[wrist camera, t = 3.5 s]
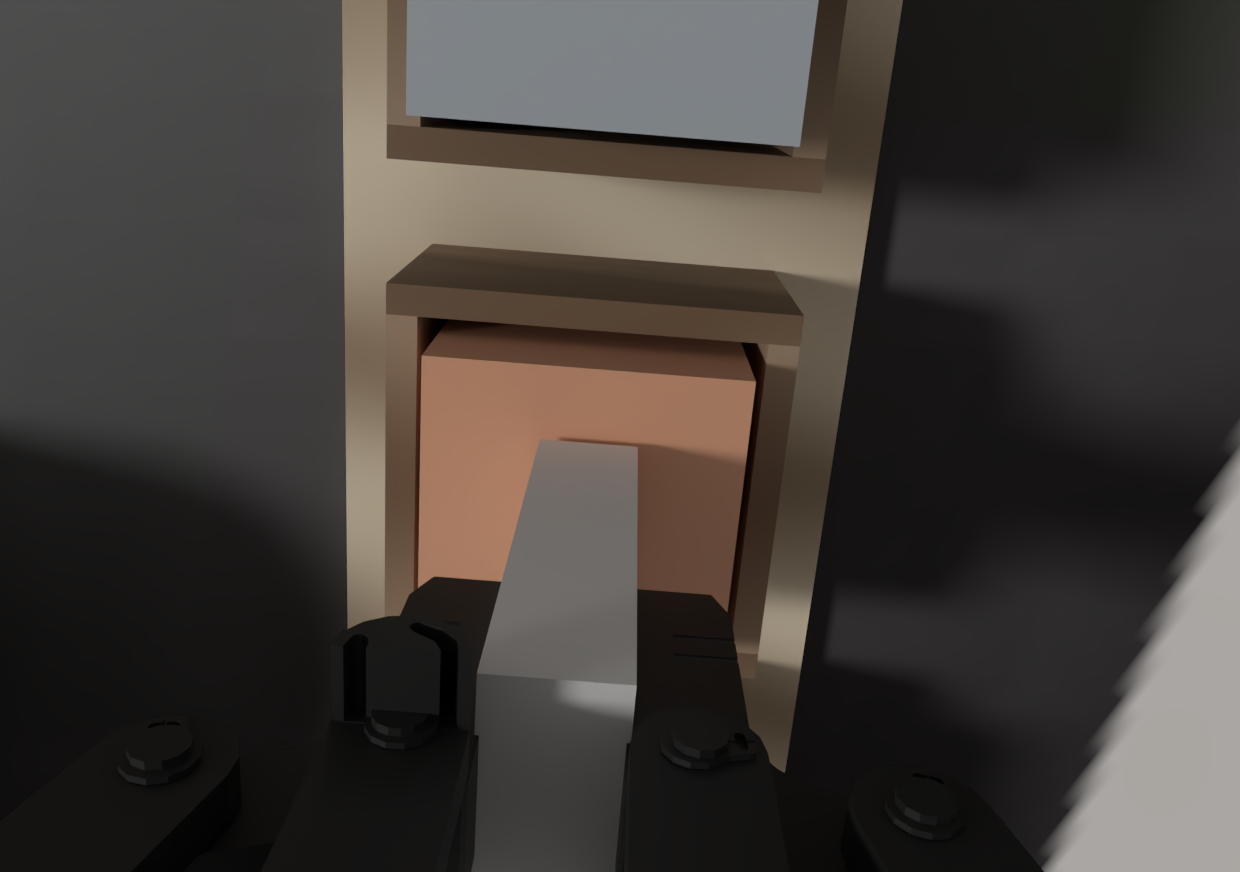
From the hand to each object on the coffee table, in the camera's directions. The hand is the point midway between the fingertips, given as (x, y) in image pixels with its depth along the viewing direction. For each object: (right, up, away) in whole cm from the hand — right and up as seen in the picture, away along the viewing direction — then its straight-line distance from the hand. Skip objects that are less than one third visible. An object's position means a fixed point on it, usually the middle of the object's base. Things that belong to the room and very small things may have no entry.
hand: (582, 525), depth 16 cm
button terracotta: (0, +1, +4) cm, 4 cm away
